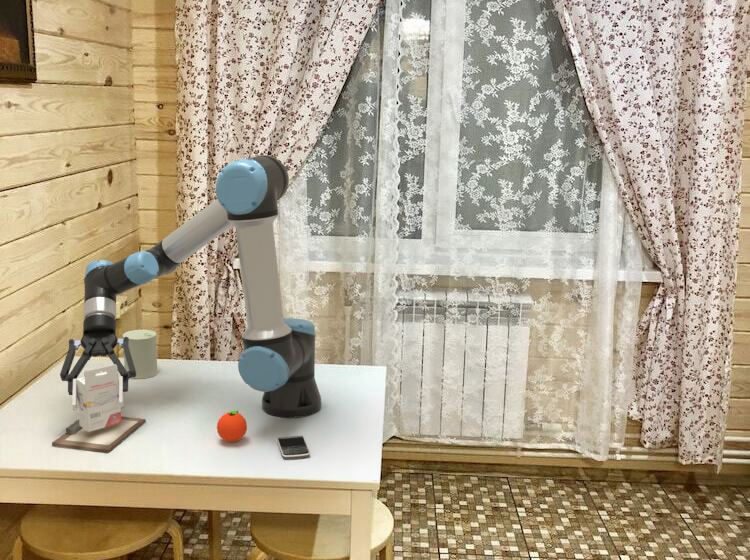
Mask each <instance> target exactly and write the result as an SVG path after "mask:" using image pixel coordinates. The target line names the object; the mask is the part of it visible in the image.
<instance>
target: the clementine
mask: <svg viewBox="0 0 750 560" xmlns="http://www.w3.org/2000/svg"><path fill="white" fill-rule="evenodd" d="M216 430H217V434H218V436H219V437H220V438H221V440H224V441H225V442H228V443H236V442H238V441H240V440H242V439H243V437H244V436H245V435H246V433H247V430H248V424H247V420H246V419H245V417H244V416H243V415H242V414H240V413H239V410H230V411H228V412H225V413H224V414H222V415H221V416H220V418H219V419H218V421H217V423H216Z"/></svg>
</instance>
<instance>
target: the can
mask: <svg viewBox="0 0 750 560" xmlns="http://www.w3.org/2000/svg"><path fill="white" fill-rule="evenodd" d="M124 337H128V338H129V350H130V353H131V357H132V360H133V363H134V366H135V370H136V377H132V378H131V379H132V380H135V379H136V380H142V379H144V378H145V379H149V378H153V377H156V376H157V375H158V374H159V369H158V355H157V352H158V351H157V332H156V331H154V330H152V329H151V330H150V329H134V330H128V331H125V332H124V333H123V334H122V339H124ZM123 364H124V365H123V366H124V368H125V369H126V371H130V370H129V367H128V364H127V361H126V357H125V354H124V353H123ZM145 379H144V380H145Z"/></svg>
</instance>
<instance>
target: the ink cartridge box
mask: <svg viewBox="0 0 750 560" xmlns="http://www.w3.org/2000/svg"><path fill="white" fill-rule="evenodd" d="M101 372H102V373H101ZM76 384H77V411H78V420H79V424H80V426H81V427H82V428H84V429H85V430H87V431H88V432H90V431H93V430H97V429H101V428H104V427H108V426H111V425H115V424H118V423H121V422H122V417H121V416H122V407H120V405H119V371H118V368H117V365H116V364H110V365H106V366H100V367H98V368H93V369H89V370H85V371H84V372H83V376H82V377H80V378H77V379H76Z"/></svg>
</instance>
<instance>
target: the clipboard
mask: <svg viewBox="0 0 750 560" xmlns="http://www.w3.org/2000/svg"><path fill="white" fill-rule="evenodd" d="M121 417H122V422H121V423H118V424H115V425H111V426H108V427H104V428H101V429H97V430H93V431H90V432H88V431H87V430H85V429H84V428H82V427H81V426H80V424H79V419H77V420H76V421H74V422H73V423H71V424H70V425H69V426H67V427H66V428H65V433H63V434H62V435H61V436H59V437H58V438H56V439H55V440H54V441H52V442H51V447H56V446H58V447H57V448H64V447H66V448H65V449H72V450H82V451H89V452H95V453H105V454H110V452H112V451H113V450H114V449H115V448H116V447H118V446H119V445H121V443H123V442H124V441H125V440H126V439H127V438H129V437H130V436H131V435H132V434H134V433H135V432H136V431H137V430H138V429H140V427H142V426H143V425H145V423H147V419H146V418H141V417H140V418H139V417H132V416H131V417H130V416H123V415H121Z"/></svg>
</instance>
